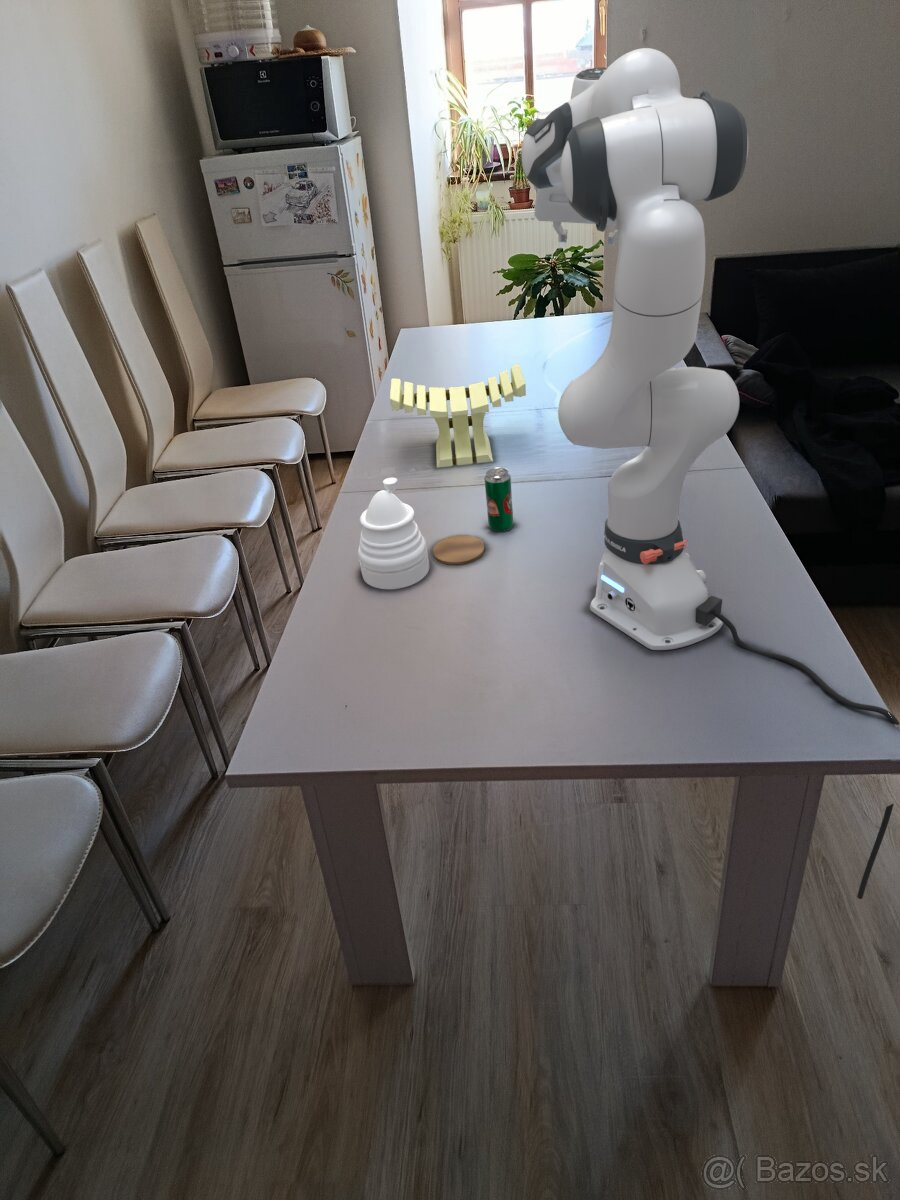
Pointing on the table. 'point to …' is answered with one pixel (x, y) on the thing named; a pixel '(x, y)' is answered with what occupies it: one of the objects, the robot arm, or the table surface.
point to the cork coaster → (458, 549)
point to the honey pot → (391, 542)
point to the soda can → (499, 499)
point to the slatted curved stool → (459, 413)
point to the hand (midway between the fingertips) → (587, 242)
